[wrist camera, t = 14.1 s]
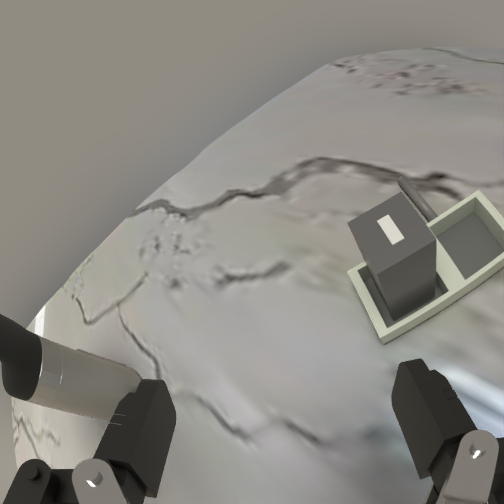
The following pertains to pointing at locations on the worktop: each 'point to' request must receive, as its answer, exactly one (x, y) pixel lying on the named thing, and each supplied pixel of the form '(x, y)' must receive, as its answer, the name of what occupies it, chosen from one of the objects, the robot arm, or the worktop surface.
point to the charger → (398, 254)
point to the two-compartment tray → (443, 260)
